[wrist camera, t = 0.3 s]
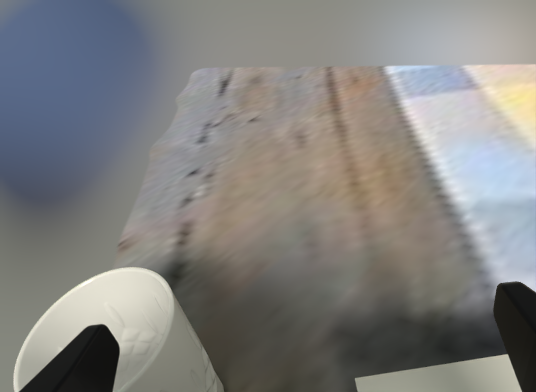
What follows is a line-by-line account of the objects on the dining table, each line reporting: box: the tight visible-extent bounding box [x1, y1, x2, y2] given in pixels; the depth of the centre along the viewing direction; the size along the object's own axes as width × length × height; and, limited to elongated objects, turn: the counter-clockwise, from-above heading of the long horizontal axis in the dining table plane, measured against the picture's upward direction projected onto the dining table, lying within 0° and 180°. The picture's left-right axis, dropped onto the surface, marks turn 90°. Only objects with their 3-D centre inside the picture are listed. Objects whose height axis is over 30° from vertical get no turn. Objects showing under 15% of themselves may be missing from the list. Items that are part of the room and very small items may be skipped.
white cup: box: [13, 267, 224, 392], centre depth 22 cm, size 8×8×10 cm
